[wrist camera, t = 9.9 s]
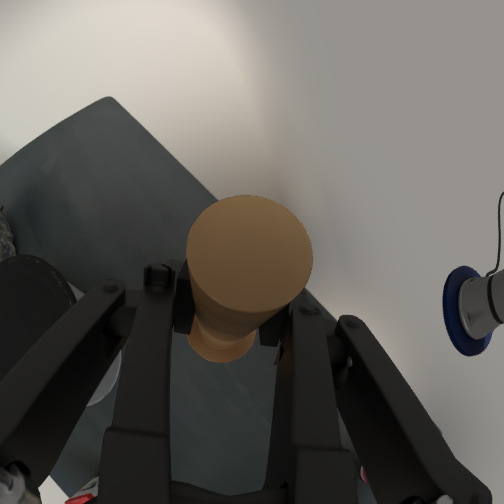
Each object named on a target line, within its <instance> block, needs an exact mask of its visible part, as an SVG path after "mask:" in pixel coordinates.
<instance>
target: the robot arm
mask: <svg viewBox="0 0 504 504" xmlns="http://www.w3.org/2000/svg"><path fill="white" fill-rule="evenodd" d="M503 195H504V192H503V193H502V194H501V197H500V199H499V205H498V227H499V228H498V229H499V245H498V246H499V247H498V259H497V265H496V268H495V269H494V270H492V271H490V272H488V273H487V274H486V276H485V277H474V278H469V279H467V280H465V281H464V282H463V283H462V284H461V285H460V287H459V290H458V295H457V311H458V317H459V321H460V324H461V326H462V328H463V330H464V332H465V334H466V335H467V336H468V337H469V338H471V339H473V340H477V339H481V338H483V337H485V336H486V335H487V334H489V333H490V332H492V331H494V329H495V328H496V327H498V326H499V325H500V324H503V323H504V269H503V270H502V271H499V272H497V273H496V274H494V275H492V276H490V277H488V276H489V275H490V274H493V273H495V272H496V271H497V269H498V266H499V261H500V247H501V229H500V204H501V199H502V196H503ZM195 313H196V310H195V305H194V299H193V293H192V288H191V282H190V275H189V269H188V263H187V258H186V260H185V262H181V261H176V260H169V261H167V262H165V263H150V264H148V265H146V266H145V267H144V286H143V289H142V290H136V291H129V290H125V284H124V283H122V282H121V281H119V280H115V279H105V280H102V281H100V282H98V283H97V284H95V285H94V286H93V287H92V288H91V289H90V290H89V291H88V292H87V293H86V294H84V295H83V296H82V297H81V298H80V299H79V300H78V301H77V302H76V303H75V304H74V305H73V306H72V307H71V308H70V309H69V310H68V311H66V312H65V313H64V314H63V315H62V316H61V317H60V318H59V319H58V320H57V321H56V322H55V323H54V324H53V325H52V326H51V327H50V328H49V329H48V330H47V331H46V332H45V333H44V334H43V335H42V336H41V337H40V339H39V340H38V341H37V342H36V343H35V344H34V345H33V346H32V347H31V348H30V349H29V350H28V351H27V352H26V353H25V355H24V356H23V357H22V358H21V359H20V360H19V361H18V362H17V363H16V365H15V366H14V367H13V368H12V369H11V370H10V371H9V373H8V374H7V375H6V376H5V377H4V378H3V380H2V381H1V382H0V504H42V502H41V497H40V492H39V490H38V487H40V486H41V484H42V483H43V482H44V481H45V479H46V478H47V477H48V476H49V474H50V472H51V470H52V469H53V467H54V465H55V463H56V461H57V459H58V458H59V456H60V454H61V452H62V450H63V448H64V446H65V444H66V442H67V440H68V438H69V437H70V435H71V433H72V431H73V429H74V427H75V426H76V424H77V422H78V420H79V418H80V417H81V415H82V413H83V411H84V410H85V408H86V406H87V404H88V403H89V401H90V399H91V398H92V396H93V394H94V393H95V391H96V389H97V387H98V386H99V384H100V382H101V381H102V379H103V378H104V376H105V374H106V373H107V371H108V369H109V368H110V366H111V365H112V363H113V361H114V360H115V358H116V357H117V355H118V353H119V352H120V350H121V349H122V347H123V346H124V344H125V343H126V341H127V339H128V337H129V340H128V345H127V349H126V353H125V357H124V362H123V366H122V371H121V376H120V381H119V386H118V391H117V396H116V402H115V408H114V414H113V420H112V425H111V427H108V428H106V430H105V433H104V437H103V444H102V451H101V459H100V469H99V480H98V494H97V496H95V497H93V498H92V499H90V500H88V501H86V502H84V503H82V504H358V498H357V486H356V476H355V466H354V459H353V455H352V453H351V451H350V450H347V449H343V448H342V446H341V439H340V430H339V421H338V413H337V407H338V410H339V412H340V414H341V417H342V419H343V422H344V424H345V426H346V429H347V431H348V433H349V436H350V438H351V441H352V443H353V445H354V448H355V450H356V453H357V455H358V458H359V460H360V462H361V465H362V467H363V470H364V472H365V475H366V477H367V480H368V482H369V485H370V487H371V490H372V492H373V495H374V497H375V499H376V501H377V503H378V504H492V495H491V491H490V490H489V489H488V487H487V486H485V485H484V484H483V483H482V482H481V481H480V480H479V479H478V478H477V477H475V476H474V475H473V474H472V473H471V472H470V471H469V470H468V469H466V468H465V467H464V466H463V465H462V464H461V463H460V462H459V461H458V460H457V459H456V458H455V457H454V455H453V453H452V452H451V450H450V448H449V447H448V445H447V443H446V442H445V440H444V438H443V437H442V435H441V434H440V432H439V430H438V429H437V427H436V426H435V424H434V422H433V421H432V419H431V418H430V416H429V415H428V413H427V412H426V410H425V409H424V407H423V405H422V404H421V402H420V401H419V399H418V398H417V396H416V395H415V393H414V392H413V390H412V389H411V388H410V386H409V385H408V383H407V382H406V380H405V379H404V378H403V376H402V374H401V373H400V372H399V370H398V369H397V367H396V366H395V364H394V363H393V362H392V360H391V359H390V357H389V356H388V354H387V353H386V352H385V350H384V349H383V347H382V346H381V345H380V344H379V342H378V341H377V339H376V338H375V336H374V335H373V334H372V333H371V331H370V330H369V328H368V327H367V326H366V324H365V323H364V322H363V321H362V320H360V319H359V318H358V317H356V316H353V315H342V316H340V317H339V320H338V322H335V321H331V320H328V319H325V318H323V317H322V312H321V311H320V309H319V308H318V307H316V306H314V305H312V304H310V302H309V299H308V297H307V294H306V292H305V290H304V288H303V290H302V291H301V292H300V294H299V295H298V296H297V297H296V298H295V299H294V300H292V301H291V302H290V303H289V304H287V305H286V306H285V307H284V308H282V309H281V310H280V311H279V312H277V313H276V314H275V315H273V316H272V317H271V318H270V319H268V320H267V321H266V322H264V323H263V324H262V325H261V326H259V335H260V345H264V346H273V347H277V344H278V341H279V338H280V342H281V345H280V348H279V351H278V354H277V357H276V360H275V363H274V365H277V372H276V384H275V396H274V407H273V417H272V427H271V437H270V446H269V455H268V464H267V472H266V479H265V483H264V486H263V488H262V490H261V491H256V492H251V493H246V494H240V495H234V496H226V495H222V494H219V493H215V492H212V491H209V490H206V489H203V488H200V487H197V486H194V485H191V484H189V483H184V482H178V481H173V480H172V475H171V458H170V365H171V344H172V328H173V325H174V332H177V333H182V334H188V335H190V333H191V329H192V325H193V321H194V317H195ZM351 359H352V366H351V364H350V360H351Z"/></svg>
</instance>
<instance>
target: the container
mask: <svg viewBox="0 0 504 504" xmlns="http://www.w3.org/2000/svg"><path fill="white" fill-rule="evenodd" d="M83 295H84V293H82V292H81V291H79V290H78V289H77V288H75V287H74V286H73V285H71V284H70V283H68V282H67V281H66V279H65V278H64V277H63V276H62V275H61V274H60V273H59V272H58V271H57V270H56V269H55V268H54V267H53V266H51V265H50V264H49V263H48V262H46V261H44V260H43V259H41V258H38V257H36V256H32V255H24V254H23V255H15V256H12V257H9V258H7V259H5V260H3V261H1V262H0V382H1V381H2V380H3V378H4V377H5V376H6V375H7V374H8V373H9V371H10V370H11V369H12V368H13V367H14V366H15V365H16V363H17V362H18V361H19V360H20V359H21V358H22V357H23V356H24V355H25V353H26V352H27V351H28V350H29V349H30V348H31V347H32V346H33V345H34V344H35V343H36V342H37V341H38V340H39V339H40V337H41V336H42V335H43V334H44V333H45V332H46V331H47V330H48V329H49V328H50V327H51V326H52V325H53V324H54V323H55V322H56V321H57V320H58V319H59V318H60V317H61V316H62V315H63V314H64V313H65V312H66V311H68V310H69V309H70V308H71V307H72V306H73V305H74V304H75V303H76V302H77V301H78V300H79V299H80V298H81V297H82V296H83ZM120 366H121V350H120V352H119V353H118V355H117V357H116V358H115V360H114V361H113V363H112V365H111V366H110V368H109V369H108V371H107V373H106V374H105V376H104V378H103V379H102V381H101V382H100V384H99V386H98V387H97V389H96V391H95V393H94V394H93V396H92V398H91V399H90V401H89V403H88V404H87V406H90V405H93V404H95V403H97V402H99V401H100V400H102V399H103V398H104V397H105V396H106V395H107V394H108V393H109V392H110V391H111V389H112V388H113V386H114V384H115V382H116V380H117V378H118V375H119V371H120Z"/></svg>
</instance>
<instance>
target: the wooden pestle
mask: <svg viewBox="0 0 504 504" xmlns="http://www.w3.org/2000/svg"><path fill="white" fill-rule="evenodd" d="M186 256H187V263H188V269H189V275H190V282H191V288H192V293H193V299H194V305H195V310H196V313H195V317H194V321H193V325H192V329H191V333H190V335H188V334H186V335H187V339H188V341H189V343H190V345H191V347H192V348H193V349H194V351H195V352H196V353H197V354H198V355H199V356H201V357H202V358H204V359H206V360H208V361H211V362H215V363H226V362H231V361H234V360H236V359H238V358H240V357H242V356H243V355H244V354H245V353H247V351H248V350H249V349H250V348H251V346H252V344H253V342H254V339H255V336H256V329H257V328H258V327H259V326H261V325H262V324H263V323H264V322H266V321H267V320H268V319H270V318H271V317H272V316H273V315H275V314H276V313H277V312H279V311H280V310H281V309H282V308H284V307H285V306H286V305H287V304H289V303H290V302H291V301H292V300H294V299H295V298H296V297H297V296H298V295H299V294H300V292H301V291H302V290H303V288H304V287H305V285H306V283H307V282H308V279H309V277H310V274H311V270H312V262H313V254H312V247H311V242H310V239H309V236H308V234H307V232H306V230H305V229H304V227H303V225H302V224H301V223H300V221H299V220H298V219H297V218H296V217H295V216H294V215H293V214H292V213H291V212H290V211H289V210H288V209H286V208H285V207H283V206H282V205H280V204H278V203H276V202H274V201H272V200H269V199H266V198H262V197H258V196H251V195H241V196H233V197H229V198H225V199H223V200H220V201H218V202H216V203H214V204H212V205H211V206H209V207H208V208H207V209H206V210H205V211H203V212H202V213H201V214H200V216H199V217H198V218H197V219H196V221H195V222H194V224H193V226H192V228H191V230H190V232H189V235H188V239H187V245H186Z"/></svg>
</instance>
